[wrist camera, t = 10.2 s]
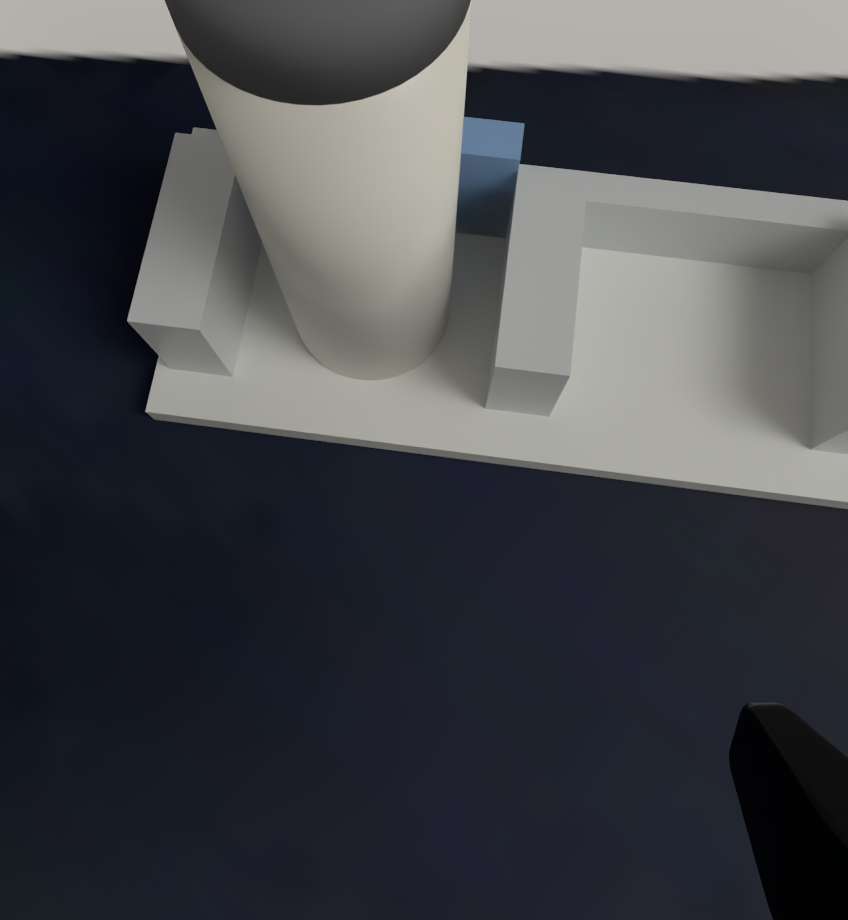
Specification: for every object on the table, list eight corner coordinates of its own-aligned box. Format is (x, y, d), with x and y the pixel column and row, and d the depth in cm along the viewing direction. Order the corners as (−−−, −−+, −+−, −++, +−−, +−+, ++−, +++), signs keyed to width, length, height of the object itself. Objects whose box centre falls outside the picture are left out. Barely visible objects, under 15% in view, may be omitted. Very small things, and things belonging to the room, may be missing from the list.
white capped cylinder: (388, 410, 23) (333, 56, 9) (263, 323, 23) (40, -123, 10) (479, 291, 24) (553, -187, 10) (357, 212, 24) (272, -333, 11)
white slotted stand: (878, 513, 23) (994, 478, 18) (154, 419, 23) (86, 363, 19) (873, 254, 25) (975, 163, 20) (212, 178, 26) (163, 75, 21)
